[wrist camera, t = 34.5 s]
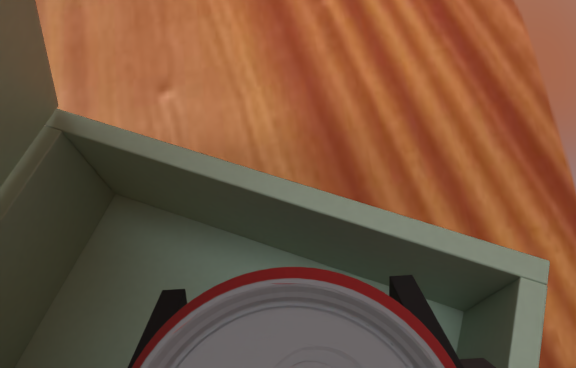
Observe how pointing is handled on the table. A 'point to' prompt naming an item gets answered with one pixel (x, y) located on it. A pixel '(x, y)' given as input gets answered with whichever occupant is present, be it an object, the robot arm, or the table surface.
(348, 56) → the table surface
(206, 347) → the beverage can
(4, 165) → the lid
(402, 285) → the robot arm
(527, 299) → the chest
